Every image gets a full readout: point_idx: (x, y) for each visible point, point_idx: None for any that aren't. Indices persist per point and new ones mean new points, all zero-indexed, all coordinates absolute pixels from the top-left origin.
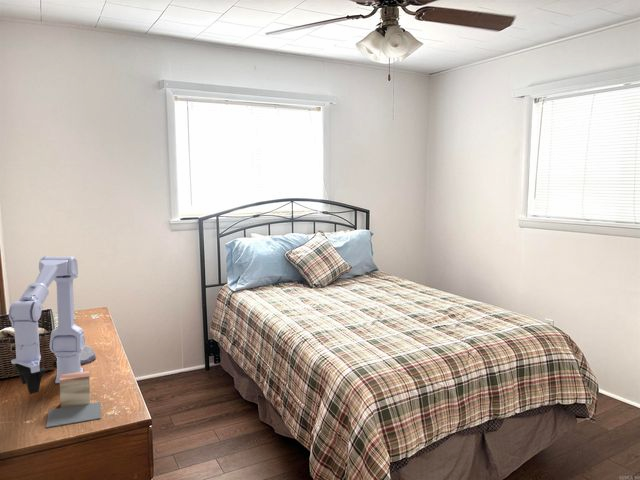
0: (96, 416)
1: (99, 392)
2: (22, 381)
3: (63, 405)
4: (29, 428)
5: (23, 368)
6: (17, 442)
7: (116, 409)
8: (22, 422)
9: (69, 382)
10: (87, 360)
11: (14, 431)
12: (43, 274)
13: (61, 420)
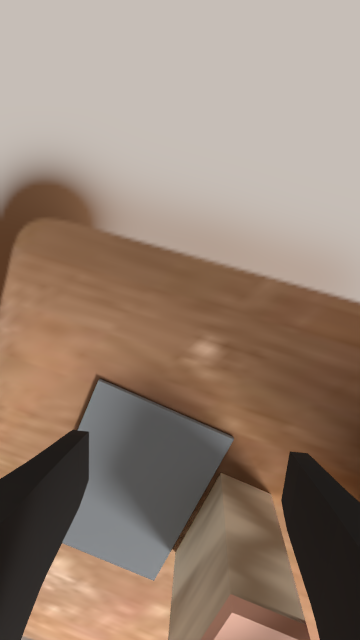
0: None
1: None
2: (297, 467)
3: (216, 488)
4: (142, 333)
5: (353, 608)
6: (59, 263)
7: (67, 586)
8: (215, 329)
9: (205, 621)
10: None
11: (159, 281)
12: None
13: (109, 438)
